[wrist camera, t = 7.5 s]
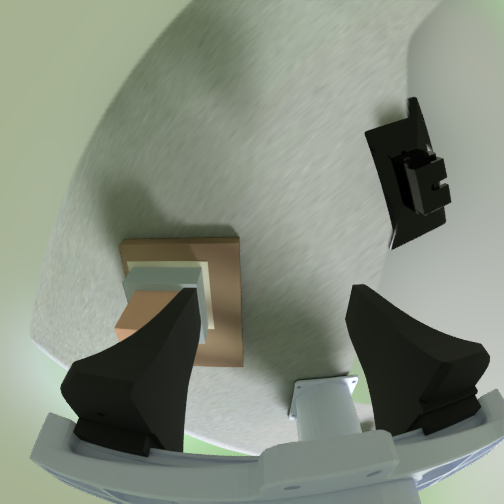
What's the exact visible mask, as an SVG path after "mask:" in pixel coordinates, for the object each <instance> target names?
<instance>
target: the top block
mask: <svg viewBox="0 0 504 504" xmlns="http://www.w3.org/2000/svg"><path fill="white" fill-rule="evenodd" d="M178 293H179V292H178V291H135V292H134V294H133V296H132V298H131V299H130V301H129V303H128V305H127V306H126V308H125V310H124V312H123V313H122V315H121V317H120V319H119V321H118V322H117V324H116V326H115V331H116V334H117V336H118V339H119V341H120V342H121V341H122V340H124V339H126V338H127V337H129V336H130V335H132V334H133V333H135V332H136V331H138V330H139V329H140V328H142V327H143V326H144V325H145V324H147V323H148V322H149V321H150V320H151V319H152V318H154V317H155V316H156V315H157V314H158V313H159V312H160V311H161V310H162V309H163V308H164V307H165V306H166V305H167V304H168V303H169V302H170V301H171V300H172V299H173V298H174V297H175V296H176V295H177V294H178Z"/></svg>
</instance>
